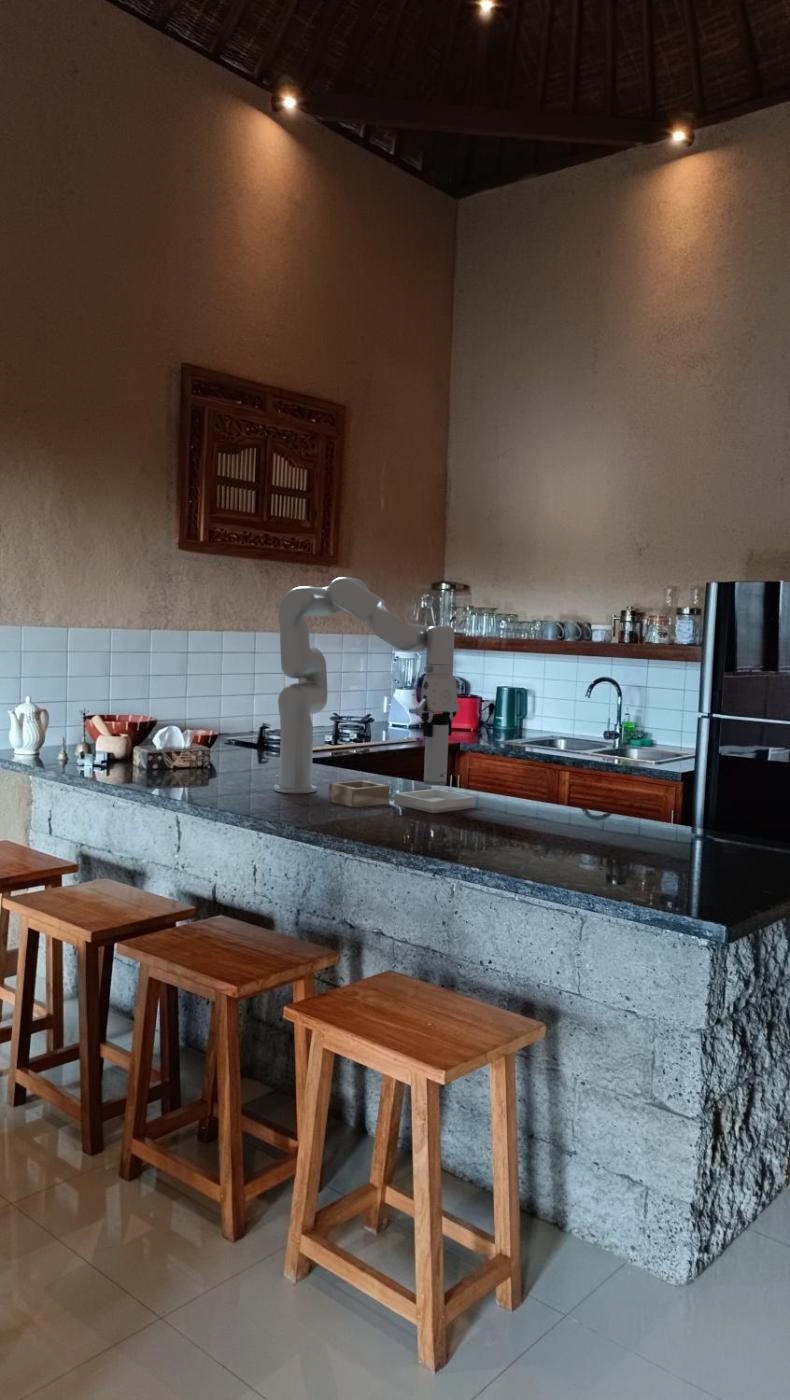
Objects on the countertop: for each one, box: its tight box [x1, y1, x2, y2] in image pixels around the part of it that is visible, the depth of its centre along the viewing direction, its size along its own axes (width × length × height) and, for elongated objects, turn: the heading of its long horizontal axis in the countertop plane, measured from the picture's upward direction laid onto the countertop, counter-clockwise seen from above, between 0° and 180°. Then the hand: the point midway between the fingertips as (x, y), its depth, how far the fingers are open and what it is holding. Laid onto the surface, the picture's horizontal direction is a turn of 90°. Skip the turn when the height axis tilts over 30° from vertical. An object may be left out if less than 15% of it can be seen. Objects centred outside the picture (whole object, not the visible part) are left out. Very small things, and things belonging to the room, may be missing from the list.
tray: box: [393, 788, 477, 814], centre depth 282 cm, size 16×16×3 cm
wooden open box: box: [328, 779, 390, 808], centre depth 284 cm, size 12×12×5 cm
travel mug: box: [423, 712, 450, 787], centre depth 281 cm, size 6×7×20 cm
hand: (437, 735), depth 281 cm, fingers closed on travel mug, 6 cm apart
